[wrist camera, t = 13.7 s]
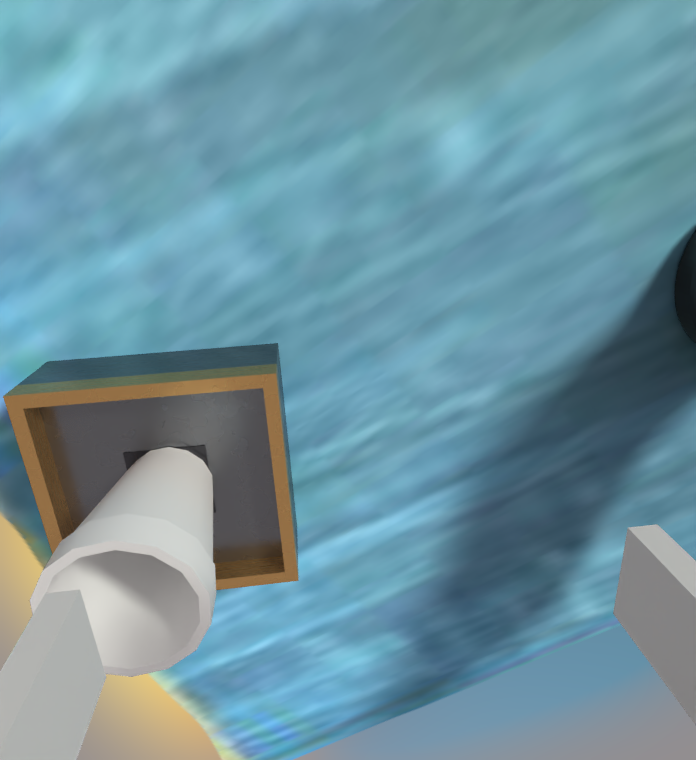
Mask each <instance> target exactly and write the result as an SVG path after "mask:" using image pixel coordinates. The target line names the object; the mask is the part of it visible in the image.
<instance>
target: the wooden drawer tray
mask: <svg viewBox="0 0 696 760" xmlns="http://www.w3.org/2000/svg"><path fill="white" fill-rule="evenodd" d="M3 398H4V401H5V404H6V407H7V410H8V414H9V417H10V420H11V423H12V426H13V430H14V433H15V436H16V439H17V442H18V445H19V449H20V452H21V455H22V458H23V461H24V465H25V468H26V471H27V474H28V477H29V481H30V484H31V487H32V490H33V493H34V497H35V500H36V503H37V506H38V509H39V513H40V516H41V519H42V522H43V525H44V529H45V532H46V535H47V538H48V541H49V545H50V548H51V551H52V554H53V553H54V551H55V550H56V548H57V547H58V545H59V543H60V542H61V541H62V540H64V539H65V538H66V537H68V536H69V535H70V534H72V533H73V532H74V531H75V530H76V529H77V528H78V526H79V525H80V524H81V523H82V522H83V521H84V520H85V518H86V517H87V516H88V515H89V514H90V513H91V512H92V510H93V509H94V508H95V507H96V506H97V505H98V504H99V502H100V501H101V500H102V499H103V498H104V497H105V496H106V494H107V493H108V492H109V491H110V490H111V489H112V488H113V486H114V485H115V484H116V483H117V482H118V481H119V479H120V478H121V477H122V476H123V475H124V474H125V473H126V471H127V470H128V469H129V468H130V467H131V466H132V465H133V464H134V463H135V462H136V461H137V460H138V459H139V458H141V457H142V456H144V455H145V454H146V453H148V452H149V451H151V450H156V449H161V448H166V447H172V448H177V449H182V450H187V451H189V452H191V453H192V454H194V455H195V456H197V457H198V458H200V459H201V460H203V461H204V463H205V464H206V466H207V467H208V469H209V471H210V472H211V474H212V480H213V563H214V564H215V577H216V590H220V589H229V588H238V587H247V586H255V585H264V584H273V583H281V582H290V581H298V546H297V522H296V513H295V503H294V493H293V484H292V474H291V464H290V455H289V445H288V436H287V426H286V416H285V407H284V397H283V387H282V378H281V368H280V358H279V349H278V343H276V344H263V345H251V346H238V347H226V348H213V349H201V350H188V351H176V352H163V353H151V354H138V355H126V356H113V357H100V358H88V359H75V360H63V361H50V362H46V363H45V364H44V365H43V366H41V367H40V368H39V369H37V370H36V371H35V372H34V373H32V374H31V375H30V376H28V377H27V378H26V379H25V380H23V381H22V382H21V383H20V384H18V385H17V386H16V387H14V388H13V389H12V390H11V391H9V392H8V393H7V394H5V395H4V396H3Z"/></svg>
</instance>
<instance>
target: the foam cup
mask: <svg viewBox="0 0 696 760" xmlns="http://www.w3.org/2000/svg"><path fill="white" fill-rule="evenodd" d="M79 589H80V591H81V594H82V598H83V601H84V604H85V608H86V611H87V614H88V618H89V621H90V625H91V628H92V631H93V635H94V638H95V641H96V645H97V648H98V651H99V655H100V658H101V661H102V665H103V668H104V672H105V674H112V675H120V676H129V677H132V676H137V675H142V674H146V673H151V672H155V671H160V670H164V669H168V668H170V667H171V666H173V665H174V664H176V663H177V662H179V661H180V660H182V659H183V658H185V657H186V656H188V655H189V654H191V653H192V652H194V651H195V650H196V649H197V648H198V646H199V644H200V642H201V641H202V639H203V637H204V635H205V634H206V632H207V630H208V628H209V627H210V625H211V621H212V616H213V610H214V604H215V598H216V577H215V564H214V563H213V480H212V474H211V472H210V471H209V469H208V467H207V466H206V464H205V463H204V461H203V460H201V459H200V458H198V457H197V456H195V455H194V454H192V453H191V452H189V451H187V450H182V449H177V448H172V447H166V448H161V449H156V450H151V451H149V452H148V453H146V454H145V455H144V456H142V457H141V458H139V459H138V460H137V461H136V462H135V463H134V464H133V465H132V466H131V467H130V468H129V469H128V470H127V471H126V473H125V474H124V475H123V476H122V477H121V478H120V479H119V481H118V482H117V483H116V484H115V485H114V486H113V488H112V489H111V490H110V491H109V492H108V493H107V494H106V496H105V497H104V498H103V499H102V500H101V501H100V502H99V504H98V505H97V506H96V507H95V508H94V509H93V510H92V512H91V513H90V514H89V515H88V516H87V517H86V518H85V520H84V521H83V522H82V523H81V524H80V525H79V526H78V528H77V529H76V530H75V531H74V532H73V533H72V534H70V535H69V536H68V537H66V538H65V539H64V540H62V541H61V542H60V543H59V545H58V547H57V548H56V550H55V551H54V553H53V555H52V556H51V558H50V559H49V561H48V563H47V564H46V566H45V568H44V569H43V571H42V573H41V575H40V578H39V580H38V583H37V585H36V587H35V589H34V592H33V594H32V596H31V598H30V605H31V609H32V614H34V612H35V610H36V608H37V607H38V605H39V603H40V601H41V600H42V598H43V596H44V595H45V593H53V592H62V591H70V590H79Z"/></svg>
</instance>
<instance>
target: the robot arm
mask: <svg viewBox="0 0 696 760" xmlns="http://www.w3.org/2000/svg"><path fill="white" fill-rule="evenodd" d="M675 304H676V310H677V314H678V317H679V320H680V322H681V325H682V327H683V328H684V330H685V332H686V333H687V334H688V336H689V337H690V338H691V339H692V340H693V341H694V342H695V343H696V231H695V233H694V234H693V236H692V238H691V239H690V241H689V243H688V245H687V247H686V249H685V251H684V254H683V256H682V259H681V261H680V264H679V268H678V272H677V277H676V283H675ZM613 614H614V615H615V617H616V618H617V619H618V621H619V622H620V623H621V625H622V626H623V627H624V629H625V630H626V631H627V632H628V634H629V635H630V637H631V638H632V640H633V641H634V642H635V643H636V645H637V646H638V648H639V649H640V650H641V651H642V653H643V654H644V656H645V657H646V658H647V660H648V661H649V662H650V664H651V665H652V667H653V668H654V669H655V671H656V672H657V673H658V675H659V676H660V677H661V679H662V680H663V681H664V683H665V684H666V685H667V687H668V688H669V689H670V691H671V692H672V694H673V695H674V696H675V697H676V699H677V700H678V702H679V703H680V704H681V706H682V707H683V709H684V710H685V711H686V713H687V714H688V715H689V717H690V718H691V719H692V721H693V722H694V723H695V724H696V561H695V560H694V559H693V558H692V557H691V556H690V555H689V554H688V553H687V552H686V551H685V550H683V549H682V548H681V547H680V546H679V545H678V544H677V543H676V542H675V541H674V540H673V539H672V538H671V537H670V536H669V535H668V534H667V533H666V532H665V531H664V530H662V529H661V528H660V527H659V526H658V525H648V526H639V527H630V528H628V529H627V535H626V541H625V547H624V553H623V559H622V565H621V571H620V577H619V583H618V588H617V594H616V600H615V606H614V612H613ZM105 679H106V675H105V672H104V668H103V665H102V661H101V658H100V655H99V651H98V648H97V645H96V641H95V638H94V635H93V631H92V628H91V625H90V621H89V618H88V614H87V611H86V608H85V604H84V601H83V598H82V594H81V591H80V589H79V590H70V591H62V592H53V593H45V595H44V596H43V598H42V600H41V601H40V603H39V605H38V607H37V608H36V610H35V612H34V614H33V615H32V617H31V619H30V621H29V622H28V624H27V626H26V627H25V629H24V631H23V633H22V634H21V636H20V638H19V640H18V641H17V643H16V645H15V646H14V648H13V650H12V652H11V653H10V655H9V657H8V659H7V660H6V662H5V664H4V666H3V667H2V669H1V671H0V760H76V759H77V757H78V754H79V751H80V748H81V746H82V743H83V740H84V737H85V735H86V732H87V729H88V726H89V723H90V721H91V718H92V715H93V712H94V709H95V707H96V704H97V701H98V698H99V696H100V693H101V690H102V687H103V685H104V682H105Z"/></svg>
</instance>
